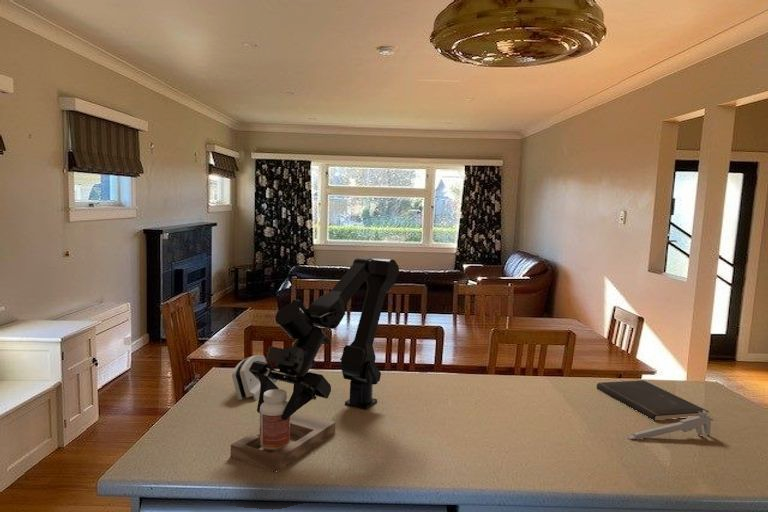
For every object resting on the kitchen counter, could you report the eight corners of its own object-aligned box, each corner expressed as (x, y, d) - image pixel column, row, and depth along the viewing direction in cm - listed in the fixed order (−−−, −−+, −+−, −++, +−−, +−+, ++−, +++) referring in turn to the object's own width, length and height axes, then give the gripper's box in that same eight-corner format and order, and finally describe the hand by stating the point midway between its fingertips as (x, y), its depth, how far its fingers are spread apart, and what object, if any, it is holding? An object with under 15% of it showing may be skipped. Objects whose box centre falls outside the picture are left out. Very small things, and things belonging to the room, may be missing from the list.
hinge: (256, 401, 129) (243, 365, 129) (239, 405, 130) (227, 370, 129) (277, 379, 146) (266, 347, 145) (263, 383, 146) (252, 352, 146)
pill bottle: (295, 444, 103) (296, 393, 102) (270, 454, 99) (270, 400, 97) (279, 434, 107) (279, 385, 106) (254, 443, 103) (254, 392, 102)
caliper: (706, 435, 116) (708, 409, 116) (709, 437, 115) (712, 411, 115) (627, 439, 113) (629, 412, 113) (630, 441, 112) (632, 414, 112)
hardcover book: (643, 387, 149) (643, 380, 148) (707, 419, 126) (708, 411, 126) (596, 390, 145) (596, 382, 145) (653, 423, 123) (654, 414, 123)
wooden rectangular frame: (293, 420, 118) (293, 410, 117) (335, 432, 112) (335, 422, 112) (230, 456, 100) (230, 444, 100) (276, 472, 94) (276, 460, 94)
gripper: (254, 324, 109) (216, 388, 100) (324, 337, 100) (288, 408, 91) (278, 351, 116) (244, 412, 108) (344, 364, 107) (313, 432, 99)
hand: (270, 415), depth 101 cm, fingers closed on pill bottle, 6 cm apart
